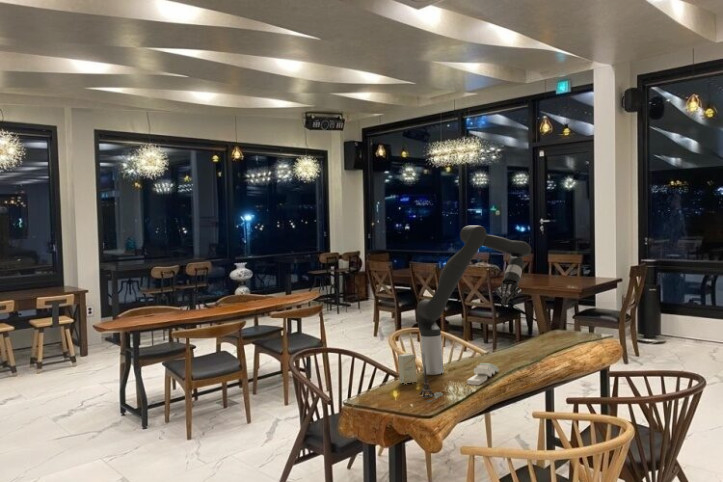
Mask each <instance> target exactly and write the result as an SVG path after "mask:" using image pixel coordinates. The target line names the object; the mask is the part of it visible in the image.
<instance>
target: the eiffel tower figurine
mask: <svg viewBox="0 0 723 482" xmlns="http://www.w3.org/2000/svg"><path fill="white" fill-rule="evenodd" d="M424 369H425V374H424V380H423V381H424V382H423V387H422V389H421V391H420V392H419V394H418V395H422V394H423V396H422V397H421V399H426V398H427V399H428V398H434V399H428V400H425V401H426V403H431V402H432V401H435V400H436V399H439V398H440V397H442V396H443V395H444V393H443V392H441V391H439V392H438V391H436V392H433V390H432V389H431V387H430V384H429V379H428V375H427V374H426V366H424ZM431 390H432V391H431ZM425 394H428V395H425ZM429 394H430V395H429Z"/></svg>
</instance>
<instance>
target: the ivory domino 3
mask: <svg viewBox="0 0 723 482" xmlns="http://www.w3.org/2000/svg"><path fill="white" fill-rule="evenodd" d="M487 380H488V377H487V375H477V374H474V375H472V376H471V377H469V378H468V379H467V380H466V384H467V385H473V386H480V385H481V384H483V383H484V382H485V381H487Z"/></svg>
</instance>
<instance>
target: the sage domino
mask: <svg viewBox="0 0 723 482" xmlns="http://www.w3.org/2000/svg"><path fill="white" fill-rule="evenodd" d="M479 365H485V366H489V367H491V368H492V369H494V370H495V373H498V372H499V367H498V366H496V365H494V364H493V363H490V362H489V363H487V362H479Z"/></svg>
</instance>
